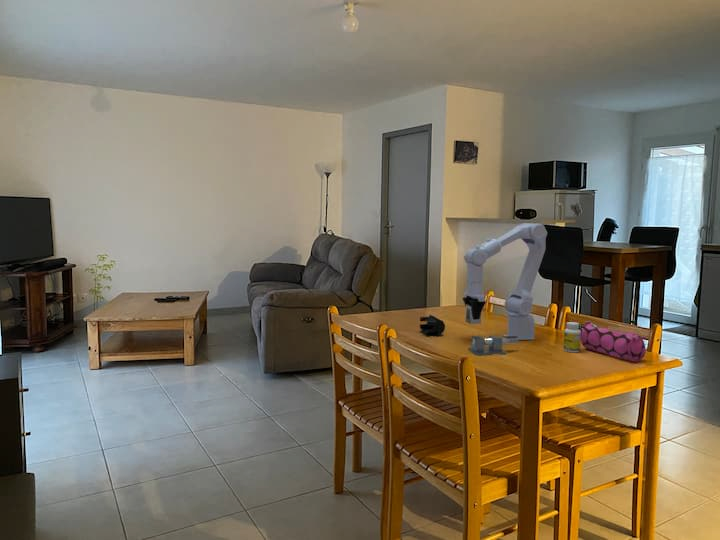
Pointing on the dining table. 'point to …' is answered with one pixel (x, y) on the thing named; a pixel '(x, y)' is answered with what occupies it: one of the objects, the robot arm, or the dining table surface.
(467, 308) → the collar
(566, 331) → the supplement bottle
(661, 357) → the dining table surface
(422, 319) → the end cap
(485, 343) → the shaft stand
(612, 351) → the pencil case
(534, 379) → the dining table surface
